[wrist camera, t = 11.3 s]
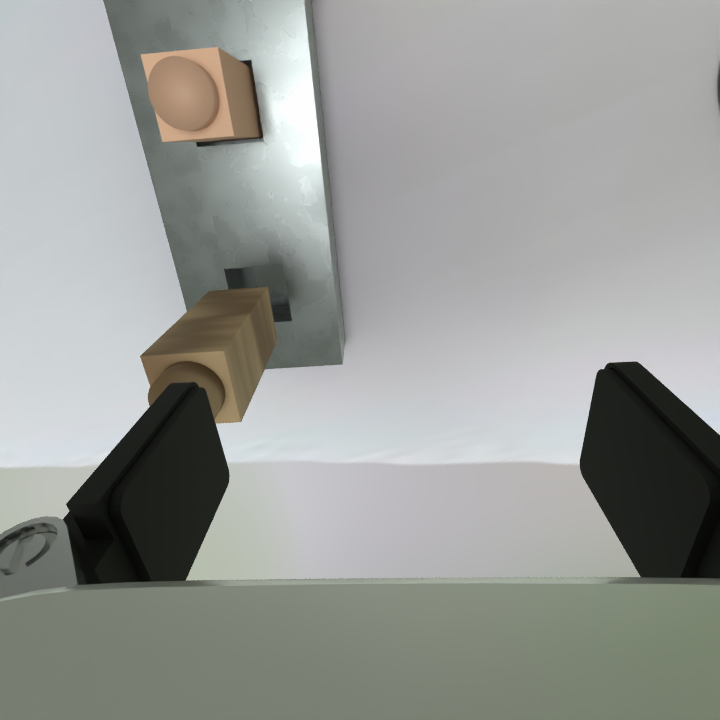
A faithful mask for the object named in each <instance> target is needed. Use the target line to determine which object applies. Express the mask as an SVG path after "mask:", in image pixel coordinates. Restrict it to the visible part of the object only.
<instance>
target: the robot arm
mask: <svg viewBox="0 0 720 720" xmlns="http://www.w3.org/2000/svg"><path fill="white" fill-rule="evenodd" d="M580 470H581V473H582V476H583V478H584V480H585V481H586V483H587V485H588V487H589V488H590V490H591V492H592V493H593V495H594V497H595V499H596V500H597V502H598V504H599V506H600V507H601V509H602V511H603V512H604V514H605V516H606V517H607V519H608V521H609V523H610V524H611V526H612V528H613V530H614V531H615V533H616V535H617V537H618V538H619V540H620V542H621V544H622V545H623V547H624V549H625V550H626V552H627V554H628V555H629V557H630V559H631V560H632V563H633V564H634V566H635V568H636V569H637V571H638V573H639V575H640V576H641V577H567V578H566V577H559V578H558V577H555V578H554V577H542V578H541V577H540V578H539V577H538V578H537V577H533V578H530V577H526V578H525V577H524V578H523V577H519V578H518V577H516V578H515V577H514V578H508V577H506V578H360V579H359V578H355V579H354V578H353V579H270V580H269V579H267V580H197V581H194V580H193V581H185V580H186V578H187V576H188V574H189V571H190V569H191V567H192V565H193V563H194V560H195V558H196V556H197V553H198V551H199V549H200V547H201V544H202V542H203V540H204V538H205V535H206V533H207V531H208V529H209V527H210V524H211V522H212V520H213V518H214V515H215V513H216V511H217V509H218V506H219V504H220V502H221V500H222V497H223V495H224V493H225V491H226V488H227V486H228V483H229V469H228V466H227V462H226V459H225V455H224V452H223V448H222V445H221V441H220V438H219V434H218V431H217V427H216V424H215V420H214V417H213V413H212V410H211V406H210V403H209V399H208V396H207V392H206V390H205V389H204V388H203V387H199V386H198V384H197V383H195V382H182V383H171V384H169V385H168V386H167V387H166V389H165V390H164V391H163V392H162V393H161V394H160V396H159V397H158V398H157V399H156V400H155V401H154V403H153V404H152V405H151V406H150V407H149V408H148V410H147V411H146V412H145V413H144V414H143V415H142V417H141V418H140V419H139V420H138V421H137V422H136V424H135V425H134V426H133V427H132V428H131V429H130V431H129V432H128V433H127V434H126V435H125V436H124V437H123V439H122V440H121V441H120V442H119V443H118V444H117V446H116V447H115V448H114V449H113V450H112V451H111V453H110V454H109V455H108V456H107V457H106V458H105V460H104V461H103V462H102V463H101V464H100V465H99V467H98V468H97V469H96V470H95V471H94V472H93V474H92V475H91V476H90V477H89V478H88V479H87V480H86V482H85V483H84V484H83V485H82V486H81V487H80V489H79V490H78V491H77V492H76V493H75V494H74V496H73V497H72V498H71V499H70V500H69V501H68V503H67V504H66V505H67V507H68V509H69V513H68V514H67V515H66V516H65V517H64V519H63V520H62V519H59V518H57V517H40V518H35V519H31V520H28V521H26V522H23V523H20V524H18V525H16V526H14V527H12V528H10V529H8V530H6V531H5V532H3V533H2V534H0V720H720V435H719V434H718V433H717V432H716V431H714V430H713V429H712V428H711V427H710V426H709V425H708V424H707V423H706V422H704V421H703V420H702V419H701V418H700V417H699V416H698V415H697V414H696V413H694V412H693V411H692V410H691V409H690V408H689V407H688V406H687V405H685V404H684V403H683V402H682V401H681V400H680V399H679V398H678V397H677V396H675V395H674V394H673V393H672V392H671V391H670V390H669V389H668V388H667V387H665V386H664V385H663V384H662V383H661V382H660V381H659V380H658V379H657V378H655V377H654V376H653V375H652V374H651V373H650V372H649V371H648V370H647V369H645V368H644V367H643V366H642V365H641V364H640V363H638V362H617V363H608V364H607V365H606V366H605V368H604V369H600V370H599V371H598V373H597V375H596V380H595V385H594V390H593V396H592V401H591V406H590V411H589V416H588V421H587V427H586V432H585V437H584V442H583V447H582V452H581V458H580Z"/></svg>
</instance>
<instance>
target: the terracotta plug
mask: <svg viewBox="0 0 720 720" xmlns="http://www.w3.org/2000/svg"><path fill="white" fill-rule="evenodd" d="M141 58H142V62H143V66H144V70H145V74H146V78H147V82H148V94H149V98H150V102H151V104H152V106H153V108H154V110H155V114H156V118H157V122H158V126H159V130H160V134H161V138H162V142H223V141H235V140H246V139H258V138H263V131H262V125H261V119H260V112H259V106H258V99H257V93H256V87H255V80H254V74H253V69H252V68H250V67H249V66H247V65H245V64H244V63H242V62H241V61H239V60H238V59H236V58H234V57H233V56H231V55H230V54H228V53H227V52H225V51H223V50H222V49H220V48H219V47H212V48H201V49H191V50H181V51H170V52H160V53H150V54H141Z"/></svg>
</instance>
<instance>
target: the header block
mask: <svg viewBox="0 0 720 720" xmlns="http://www.w3.org/2000/svg"><path fill="white" fill-rule="evenodd" d="M103 1H104V4H105V8H106V12H107V15H108V19H109V23H110V27H111V30H112V34H113V38H114V41H115V45H116V49H117V52H118V56H119V60H120V64H121V67H122V71H123V75H124V78H125V82H126V86H127V90H128V93H129V97H130V101H131V104H132V108H133V112H134V116H135V119H136V123H137V127H138V130H139V134H140V138H141V142H142V145H143V149H144V153H145V156H146V160H147V164H148V168H149V171H150V175H151V179H152V182H153V186H154V190H155V194H156V197H157V201H158V205H159V208H160V212H161V216H162V219H163V223H164V227H165V231H166V234H167V238H168V242H169V245H170V249H171V253H172V257H173V260H174V264H175V268H176V271H177V275H178V279H179V283H180V286H181V290H182V294H183V297H184V301H185V305H186V309H187V311H189V310H190V309H191V308H192V307H193V306H194V305H195V304H196V303H197V302H198V301H199V300H200V299H201V298H202V297H203V296H204V295H205V294H207V293H208V292H209V291H213V290H227V289H242V288H256V287H268V290H269V296H270V301H271V307H272V313H273V318H274V324H275V330H276V335H277V343H276V345H275V348H274V350H273V352H272V354H271V356H270V359H269V361H268V363H267V365H266V368H265V369H274V368H291V367H307V366H324V365H340V364H343V355H344V346H345V333H344V323H343V313H342V303H341V293H340V283H339V273H338V263H337V253H336V243H335V233H334V223H333V213H332V203H331V193H330V183H329V173H328V163H327V152H326V142H325V132H324V122H323V112H322V102H321V92H320V82H319V72H318V62H317V52H316V42H315V32H314V22H313V12H312V2H311V0H103ZM212 47H219V48H220V49H222V50H223V51H225V52H227V53H228V54H230V55H231V56H233V57H234V58H236V59H238V60H239V61H241V62H242V63H244V64H245V65H247V66H249V67H250V68H252V69H253V74H254V80H255V87H256V93H257V99H258V106H259V112H260V119H261V125H262V131H263V138H258V139H246V140H235V141H223V142H162V138H161V134H160V130H159V126H158V122H157V118H156V114H155V110H154V108H153V106H152V104H151V102H150V98H149V94H148V82H147V78H146V74H145V70H144V66H143V62H142V58H141V54H150V53H160V52H170V51H181V50H191V49H201V48H212Z"/></svg>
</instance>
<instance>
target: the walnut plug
mask: <svg viewBox="0 0 720 720" xmlns="http://www.w3.org/2000/svg"><path fill="white" fill-rule="evenodd" d="M276 343H277V335H276V330H275V324H274V318H273V313H272V307H271V301H270V296H269V290H268V287H256V288H242V289H227V290H213V291H209V292H208V293H207V294H205V295H204V296H203V297H202V298H201V299H200V300H199V301H198V302H197V303H196V304H195V305H194V306H193V307H192V308H191V309H190V310H189V311H187V312H186V313H185V314H184V315H183V316H182V317H181V318H180V319H179V320H178V321H177V322H176V323H175V324H174V325H173V326H172V327H171V328H169V329H168V330H167V331H166V332H165V333H164V334H163V335H162V336H161V337H160V338H159V339H158V340H157V341H156V342H155V343H154V344H153V345H152V346H150V347H149V348H148V349H147V350H146V351H145V352H144V353H143V354H142V355H141V356H140V357H141V360H142V363H143V366H144V369H145V372H146V375H147V378H148V381H149V384H150V389H149V393H148V402H149V405H150V406H151V405H152V404H153V403H154V401H155V400H156V399H157V398H158V397H159V396H160V394H161V393H162V392H163V391H164V390H165V389H166V387H167V386H168V385H169V384H171V383H182V382H195V383H197V384H198V386H199V387H203V388H204V389H205V390H206V392H207V396H208V399H209V403H210V406H211V410H212V413H213V417H214V420H215V423H233V422H241V421H242V419H243V416H244V414H245V412H246V410H247V408H248V405H249V403H250V401H251V399H252V396H253V394H254V392H255V390H256V388H257V385H258V383H259V381H260V379H261V376H262V374H263V372H264V370H265V368H266V365H267V363H268V361H269V359H270V356H271V354H272V352H273V350H274V348H275V345H276Z"/></svg>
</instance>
